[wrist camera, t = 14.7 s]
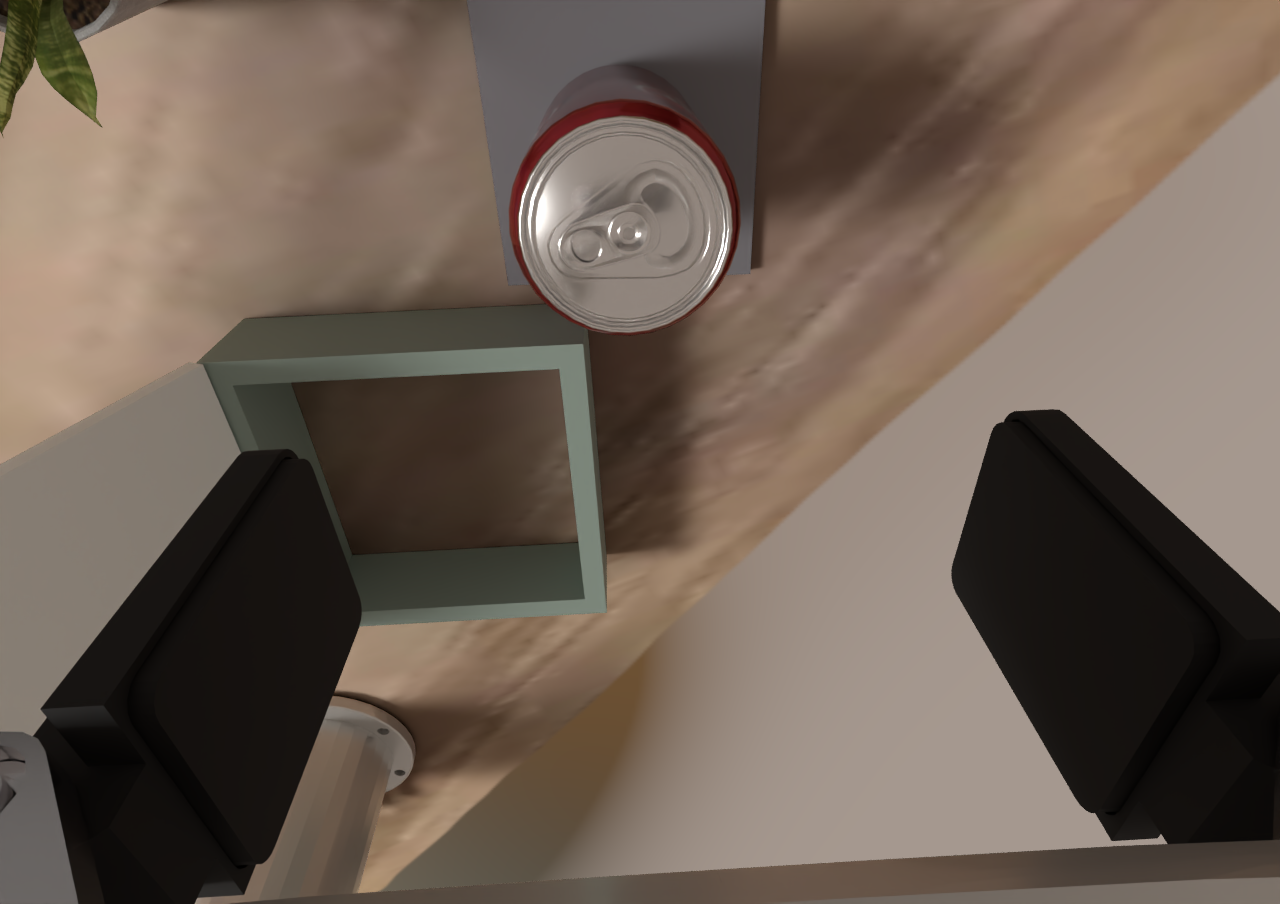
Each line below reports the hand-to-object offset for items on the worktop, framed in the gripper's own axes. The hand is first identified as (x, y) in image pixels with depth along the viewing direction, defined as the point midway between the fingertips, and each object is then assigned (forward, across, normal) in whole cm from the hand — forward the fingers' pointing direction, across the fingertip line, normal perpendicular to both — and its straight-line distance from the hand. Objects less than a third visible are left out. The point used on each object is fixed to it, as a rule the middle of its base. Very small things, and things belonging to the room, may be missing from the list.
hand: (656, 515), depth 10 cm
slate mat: (+26, 0, 0) cm, 26 cm away
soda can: (+26, 0, 0) cm, 26 cm away
